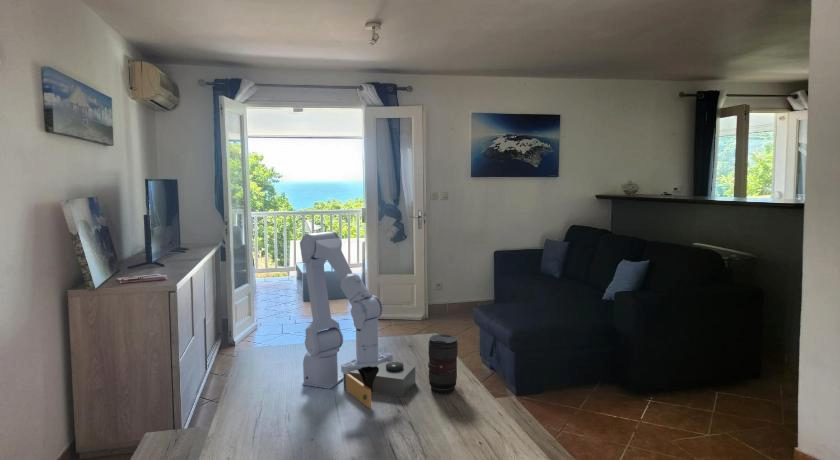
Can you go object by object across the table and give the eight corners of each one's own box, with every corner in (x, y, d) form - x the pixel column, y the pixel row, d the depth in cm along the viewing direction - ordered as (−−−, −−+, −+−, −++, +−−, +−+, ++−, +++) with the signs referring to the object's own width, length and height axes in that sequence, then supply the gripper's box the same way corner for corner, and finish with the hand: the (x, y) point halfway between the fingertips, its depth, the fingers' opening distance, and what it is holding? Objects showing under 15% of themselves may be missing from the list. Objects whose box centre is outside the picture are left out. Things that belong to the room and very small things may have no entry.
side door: (343, 391, 146) (343, 373, 145) (348, 389, 147) (347, 372, 146) (366, 409, 135) (366, 390, 134) (371, 407, 136) (371, 389, 135)
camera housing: (343, 388, 148) (343, 367, 147) (359, 375, 157) (358, 355, 156) (403, 397, 142) (402, 375, 141) (415, 382, 151) (415, 362, 151)
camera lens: (455, 397, 142) (455, 343, 140) (426, 394, 143) (425, 342, 142) (459, 384, 150) (459, 334, 148) (431, 382, 151) (431, 332, 149)
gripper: (350, 353, 129) (351, 405, 130) (398, 341, 137) (399, 390, 139) (336, 345, 134) (338, 396, 136) (384, 334, 143) (385, 382, 145)
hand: (368, 392), depth 138 cm, fingers closed, pressing on side door
